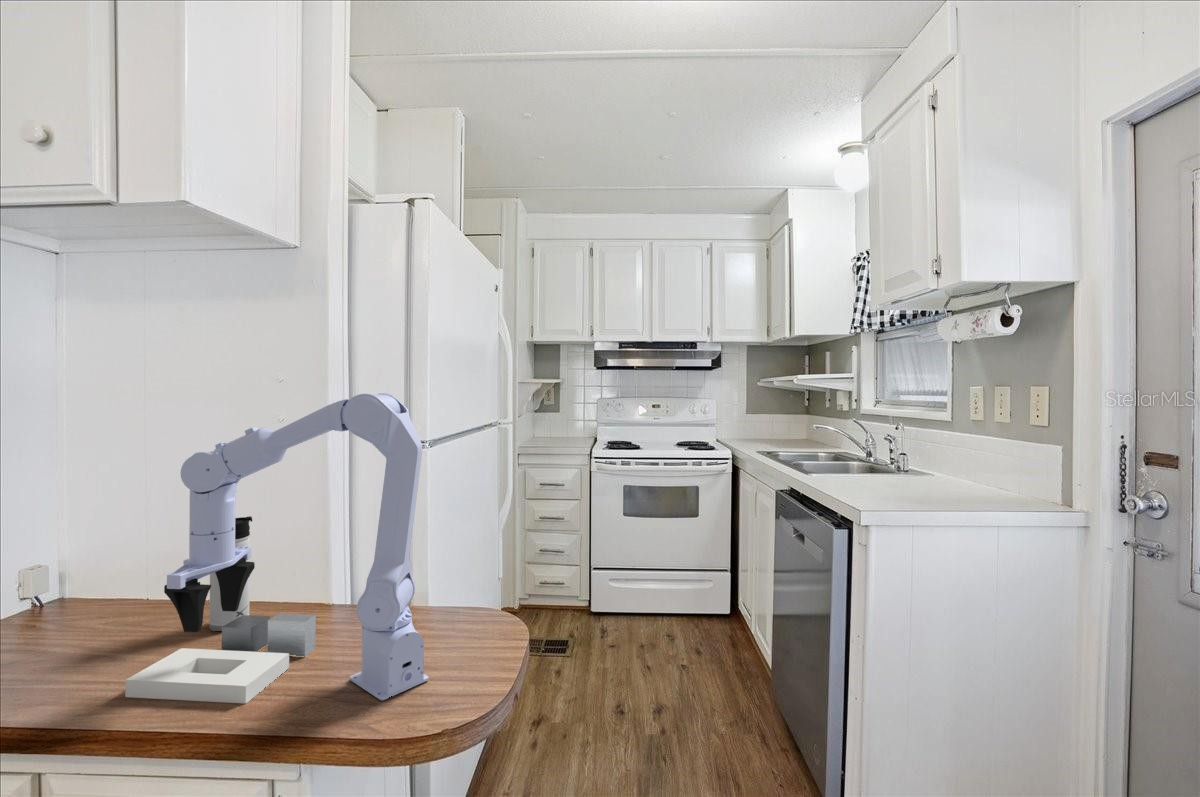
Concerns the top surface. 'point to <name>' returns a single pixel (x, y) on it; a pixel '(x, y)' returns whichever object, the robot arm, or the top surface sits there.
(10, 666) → the top surface
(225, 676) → the slot board
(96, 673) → the top surface
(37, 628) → the top surface
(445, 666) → the top surface
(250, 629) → the square bit
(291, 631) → the blocky grey bit
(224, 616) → the travel mug
